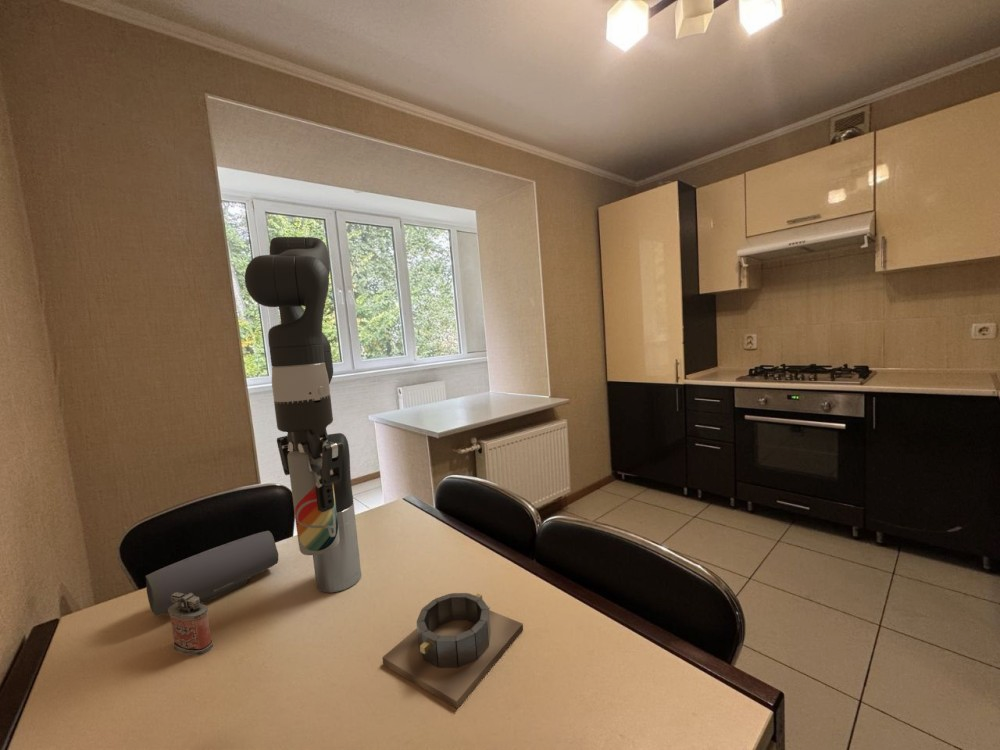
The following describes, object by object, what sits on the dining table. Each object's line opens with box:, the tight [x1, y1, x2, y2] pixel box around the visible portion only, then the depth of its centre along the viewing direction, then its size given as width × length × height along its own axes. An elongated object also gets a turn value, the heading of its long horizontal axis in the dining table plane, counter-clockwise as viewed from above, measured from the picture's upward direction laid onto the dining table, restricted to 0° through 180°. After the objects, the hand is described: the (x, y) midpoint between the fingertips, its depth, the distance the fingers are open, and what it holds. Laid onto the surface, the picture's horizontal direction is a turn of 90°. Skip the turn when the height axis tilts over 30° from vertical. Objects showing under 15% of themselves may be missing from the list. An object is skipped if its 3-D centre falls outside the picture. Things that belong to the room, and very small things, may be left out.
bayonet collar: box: [416, 592, 491, 668], centre depth 70 cm, size 12×15×4 cm
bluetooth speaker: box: [145, 530, 279, 618], centre depth 91 cm, size 23×9×10 cm, turn 139°
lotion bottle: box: [288, 431, 339, 556], centre depth 62 cm, size 6×6×20 cm
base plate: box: [382, 605, 524, 710], centre depth 71 cm, size 16×19×1 cm
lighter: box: [167, 592, 214, 656], centre depth 74 cm, size 8×3×10 cm, turn 71°
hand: (315, 505), depth 62 cm, fingers closed on lotion bottle, 5 cm apart
